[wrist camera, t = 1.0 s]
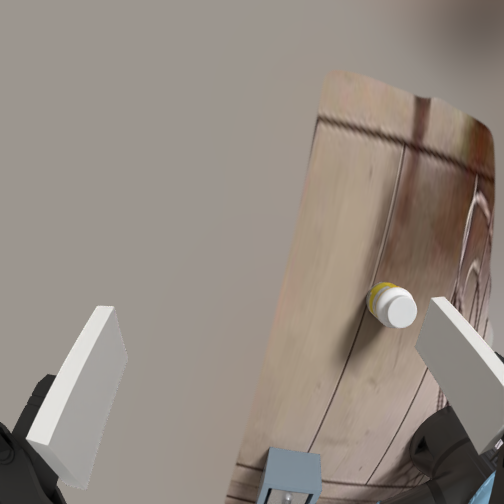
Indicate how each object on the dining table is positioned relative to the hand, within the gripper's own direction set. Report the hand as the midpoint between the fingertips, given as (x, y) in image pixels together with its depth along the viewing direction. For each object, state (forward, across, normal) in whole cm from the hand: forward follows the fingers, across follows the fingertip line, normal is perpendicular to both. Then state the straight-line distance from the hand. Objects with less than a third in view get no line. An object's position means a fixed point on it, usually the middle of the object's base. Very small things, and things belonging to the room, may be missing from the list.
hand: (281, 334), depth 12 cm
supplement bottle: (+28, -20, +17) cm, 38 cm away
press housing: (+18, -7, +47) cm, 51 cm away
